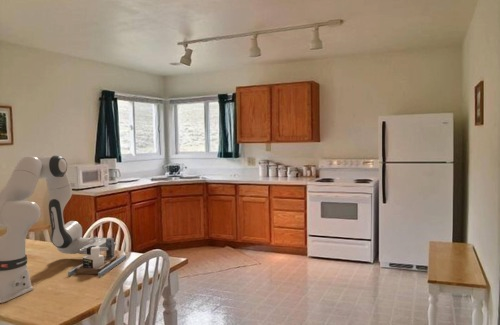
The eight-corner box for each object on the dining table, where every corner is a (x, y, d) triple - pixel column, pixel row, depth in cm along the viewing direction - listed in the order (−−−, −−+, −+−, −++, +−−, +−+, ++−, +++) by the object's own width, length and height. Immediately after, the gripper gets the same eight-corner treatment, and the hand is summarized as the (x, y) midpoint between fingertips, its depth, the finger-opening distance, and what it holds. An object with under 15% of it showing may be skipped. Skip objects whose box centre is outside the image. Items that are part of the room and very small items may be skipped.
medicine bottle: (82, 271, 193) (82, 247, 192) (94, 267, 199) (93, 244, 198) (92, 273, 190) (92, 249, 189) (104, 269, 196) (103, 245, 195)
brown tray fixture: (99, 274, 188) (98, 251, 187) (75, 273, 189) (74, 250, 188) (122, 257, 213) (122, 238, 212) (101, 257, 214) (100, 237, 214)
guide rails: (100, 276, 185) (100, 272, 184) (68, 276, 186) (68, 271, 186) (126, 258, 213) (126, 254, 213) (98, 257, 215) (98, 254, 215)
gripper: (76, 245, 203) (102, 245, 201) (96, 235, 223) (119, 236, 222) (77, 257, 203) (102, 258, 202) (96, 246, 223) (120, 247, 222)
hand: (111, 246), depth 212 cm, fingers open, 8 cm apart
